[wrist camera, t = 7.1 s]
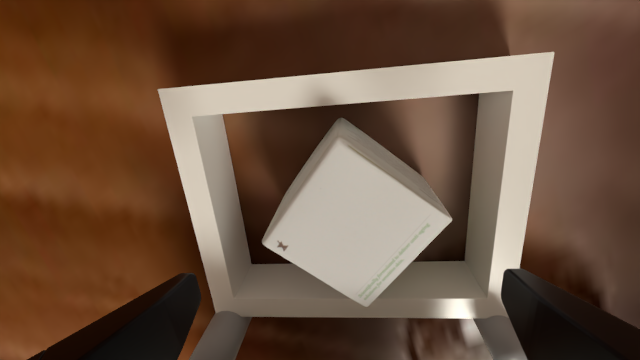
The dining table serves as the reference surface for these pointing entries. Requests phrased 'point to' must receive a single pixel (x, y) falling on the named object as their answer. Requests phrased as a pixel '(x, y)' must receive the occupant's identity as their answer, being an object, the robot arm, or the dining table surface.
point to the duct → (418, 277)
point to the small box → (355, 215)
